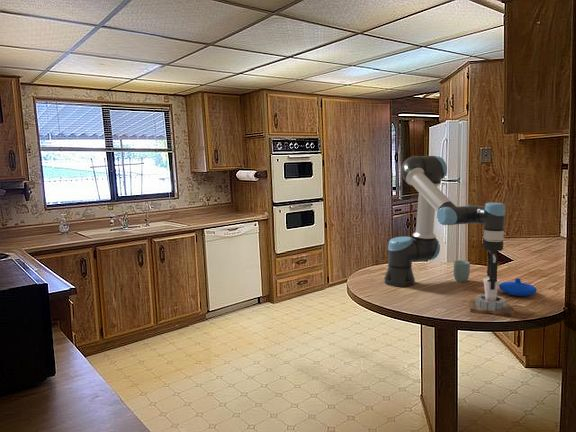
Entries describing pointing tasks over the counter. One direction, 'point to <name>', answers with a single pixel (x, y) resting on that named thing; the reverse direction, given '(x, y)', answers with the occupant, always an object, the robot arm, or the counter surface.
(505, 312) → the board
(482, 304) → the ring
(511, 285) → the blue funnel
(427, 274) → the counter surface
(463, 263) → the cup
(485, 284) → the smoothie
